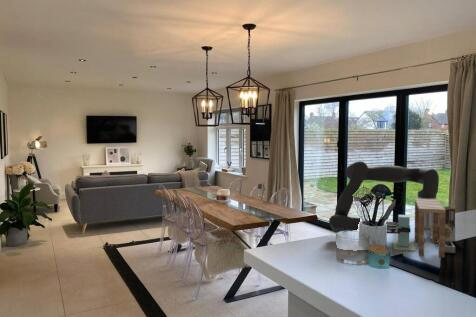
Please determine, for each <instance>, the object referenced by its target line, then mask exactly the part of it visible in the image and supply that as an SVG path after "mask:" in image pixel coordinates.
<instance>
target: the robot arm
mask: <svg viewBox="0 0 476 317" xmlns="http://www.w3.org/2000/svg"><path fill="white" fill-rule="evenodd" d="M344 173H345V176H346V177H347V179H349V181H348V183H347V184H346V187H345V188H344V189H343V191H342V192H341V194H340V196H339V197H338V201H337V203H336V205H335V211H334V212H335V213H334V215H331V216H330V217H329V220H328V223H329V225H330V229H331V230H332V232H334V233H340V232H339V231H341V232H343V230H344V229H345V230H349V231H350V230H357V229H358V224H359V222H360V218H361V217H351V216H349V213H350V211H351V208H352V206H353V204H354V203H353V202H354V200H353V196H352V195H353V194H354V193H355V192H356V191H357V190H358V191H359V189H360V187H361V186H362V184H363V182H364V181H372V182H373V181H375V182H384V183H393V184H394V183H403V182H409V183H411V182H412V183H417V184H421V185H422V189H421V190H418V192H417V199H435V200H437V194H438V192H439V182H440V179H439V178H440V176H439V173H438V171H437V170H436V169H433V168H427V167H415V168H414V167H413V168H412V167H411V168H408V167H405V166H399V165H389V164H388V165H378V166H372V167H371V166H368V165H367V163H365V162H364V161H362V160H361V161H360V160H359V161H355V162H353V163H351V164H349V165H348V166H347V167H346V168H345V172H344ZM358 191H357V192H358ZM385 223H386V224H387V232H386V234H389V235H390V234H394V235H395V234H396V235H398V234H400V233H401V232H406V233H409V234H410V233H411V231H412V230H411V226H410V224H409V228H406V227H398V222H395V221H386V222H385ZM424 230H431V212H424Z"/></svg>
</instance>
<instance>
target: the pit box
mask: <svg viewBox="0 0 476 317" xmlns="http://www.w3.org/2000/svg"><path fill="white" fill-rule="evenodd" d="M453 242H454V241H445V254H453V255H454V254H456V245H455V244H454V243H453Z"/></svg>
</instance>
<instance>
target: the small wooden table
mask: <svg viewBox="0 0 476 317" xmlns="http://www.w3.org/2000/svg"><path fill="white" fill-rule="evenodd" d="M424 212H433V239H432V243H433V244H438V257H439V258H446V257H445V256H446V253H445V208H444V207H443V204H442V203H441V202H440V200H439V199H436V200H435V199H418V198H415V199H414V242H417V244H418V251H417V252H418V256H422V257H424V256H425V229H424ZM438 213H439V241H438Z"/></svg>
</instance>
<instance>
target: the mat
mask: <svg viewBox="0 0 476 317" xmlns="http://www.w3.org/2000/svg"><path fill="white" fill-rule="evenodd" d="M392 244H393V246H392V247H393V250H398V251H399V250H401V251H408V250H411V252H416V248H415V245H414V242H410V241H409V247H405V246H398V240H397V241H395V240H393V241H392Z"/></svg>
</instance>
